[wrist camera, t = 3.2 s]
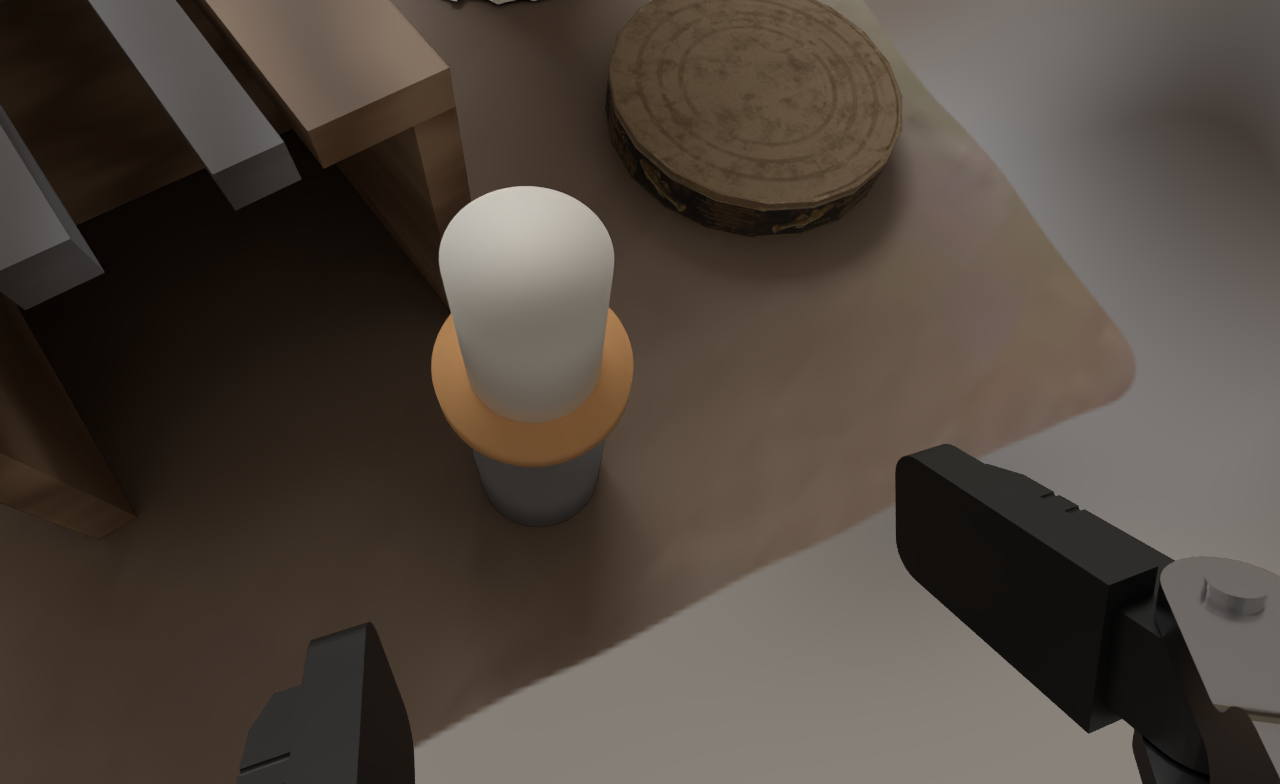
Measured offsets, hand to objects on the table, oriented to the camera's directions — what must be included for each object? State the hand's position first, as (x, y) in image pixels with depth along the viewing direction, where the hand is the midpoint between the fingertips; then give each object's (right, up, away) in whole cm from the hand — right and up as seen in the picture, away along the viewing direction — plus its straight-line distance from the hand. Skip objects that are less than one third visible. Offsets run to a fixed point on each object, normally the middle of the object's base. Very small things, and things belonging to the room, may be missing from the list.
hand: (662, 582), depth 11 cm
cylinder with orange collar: (-5, -1, +21) cm, 21 cm away
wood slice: (+6, +18, +31) cm, 36 cm away
